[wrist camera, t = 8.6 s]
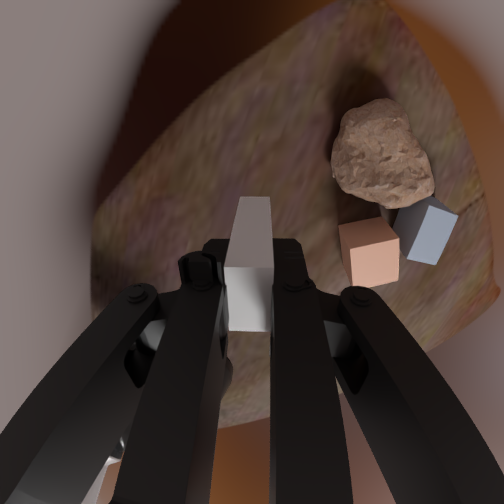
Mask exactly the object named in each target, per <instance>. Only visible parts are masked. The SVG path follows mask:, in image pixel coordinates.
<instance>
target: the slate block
mask: <svg viewBox="0 0 504 504" xmlns="http://www.w3.org/2000/svg"><path fill="white" fill-rule="evenodd" d="M457 218H458V215H456V214H455V213H454V212H453V211H451V210H450V209H449V208H448V207H446V206H445V205H444V204H443V203H441V202H440V201H439V200H437V199H436V198H435V197H432V196H429V197H426V198H424V199H422V200H419V201H417V202H416V203H413V204H412V205H410V206H408V207H402V208H400V209H399V212H398V215H397V217H396V220H395V222H394V225H393V227H392V230H393V231H394V232H395V233H396V235H397V236H398V237H399V249H400V250H401V252H402V253H403V255H404V256H405V257H406V259H410V260H414V261H419V262H424V263H428V264H433V265H436V263H437V261H438V259H439V257H440V255H441V253H442V251H443V249H444V247H445V245H446V243H447V241H448V238H449V236H450V234H451V232H452V229H453V227H454V225H455V222H456V220H457Z"/></svg>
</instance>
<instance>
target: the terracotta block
mask: <svg viewBox="0 0 504 504" xmlns="http://www.w3.org/2000/svg"><path fill="white" fill-rule="evenodd" d="M338 227H339V235H340V243H341V251H342V260H343V265H344V268H345V271H346V273H347V276H348V279H349V281H350V284H351V286H363V287H367V288H369V287H373V286H377V285H382V284H386V283H390V282H394V281H398V272H399V237H398V236H397V235H396V233H395V232H394V231H393V230H392V228H391V227H390V226H389V225H388V223H387V222H386V221H385V220H384V219H383V217H382V216H381V217H376V218H371V219H366V220H361V221H356V222H351V223H347V224H342V225H338Z"/></svg>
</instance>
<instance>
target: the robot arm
mask: <svg viewBox="0 0 504 504" xmlns="http://www.w3.org/2000/svg"><path fill="white" fill-rule="evenodd" d="M178 266H179V271H180V277H181V283H182V284H181V287H180V289H178V290H176V291H172V292H167V293H161V294H157V290H156V289H155V287H154V286H152V285H150V284H143V283H140V284H134V285H132V286H129V287H127V288H126V289H124V290H123V291H122V292H121V293H120V294H119V295H118V296H117V297H116V298H115V299H114V300H113V301H112V302H111V303H110V304H109V305H108V306H107V307H106V308H105V309H104V310H103V311H102V312H101V313H100V314H99V315H98V317H97V318H96V319H95V320H94V321H93V322H92V323H91V324H90V325H89V326H88V327H87V329H86V330H85V331H84V332H83V333H82V334H81V335H80V336H79V337H78V338H77V339H76V341H75V342H74V343H73V344H72V345H71V346H70V347H69V348H68V350H67V351H66V352H65V353H64V354H63V355H62V356H61V358H60V359H59V360H58V361H57V362H56V363H55V365H54V366H53V367H52V368H51V369H50V371H49V372H48V373H47V374H46V375H45V377H44V378H43V379H42V380H41V381H40V383H39V384H38V385H37V386H36V388H35V389H34V390H33V391H32V393H31V394H30V395H29V396H28V398H27V399H26V400H25V402H24V403H23V404H22V405H21V407H20V408H19V409H18V411H17V412H16V414H15V415H14V416H13V417H12V419H11V420H10V422H9V423H8V424H7V426H6V427H5V429H4V430H3V431H2V433H1V434H0V504H96V501H97V498H98V495H99V491H100V488H101V485H102V482H103V479H104V476H105V472H106V469H107V466H108V465H110V464H112V463H115V462H118V461H120V460H121V457H122V454H123V452H124V455H123V458H122V462H121V466H120V470H119V474H118V478H117V482H116V486H115V490H114V494H113V497H112V500H111V501H110V503H109V504H209V498H210V489H211V480H212V471H213V461H214V453H215V444H216V435H217V428H218V419H219V411H220V403H221V400H222V398H223V396H224V394H225V393H226V391H227V389H228V387H229V385H230V384H231V381H232V375H233V367H232V364H231V362H230V361H229V359H228V358H227V357H226V355H227V347H228V335H227V330H228V323H229V331H270V332H271V337H270V354H269V356H270V485H269V486H270V487H269V504H353V495H352V486H351V476H350V468H349V460H348V452H347V446H346V438H345V431H344V425H343V418H342V413H341V406H340V400H339V395H338V389H337V384H336V378H337V380H338V382H339V384H340V386H341V388H342V391H343V393H344V395H345V397H346V398H347V401H348V403H349V405H350V407H351V409H352V411H353V413H354V415H355V417H356V419H357V421H358V423H359V425H360V427H361V429H362V431H363V434H364V436H365V438H366V440H367V442H368V444H369V446H370V448H371V450H372V452H373V455H374V457H375V459H376V461H377V463H378V465H379V467H380V469H381V472H382V474H383V476H384V478H385V480H386V482H387V484H388V487H389V489H390V491H391V493H392V495H393V498H394V500H395V502H396V504H504V475H503V473H502V471H501V469H500V467H499V465H498V463H497V461H496V460H495V458H494V456H493V454H492V452H491V451H490V449H489V447H488V446H487V444H486V442H485V441H484V439H483V437H482V436H481V434H480V432H479V431H478V429H477V427H476V426H475V424H474V423H473V421H472V419H471V418H470V416H469V415H468V413H467V412H466V410H465V409H464V407H463V406H462V404H461V403H460V401H459V400H458V398H457V397H456V395H455V394H454V392H453V391H452V389H451V388H450V386H449V385H448V384H447V382H446V381H445V380H444V378H443V377H442V375H441V374H440V372H439V371H438V370H437V368H436V367H435V366H434V364H433V363H432V361H431V360H430V359H429V358H428V356H427V355H426V353H425V352H424V351H423V350H422V348H421V347H420V346H419V344H418V343H417V342H416V340H415V339H414V338H413V337H412V335H411V334H410V333H409V331H408V330H407V329H406V328H405V326H404V325H403V324H402V323H401V321H400V320H399V319H398V318H397V317H396V315H395V314H394V313H393V312H392V310H391V309H390V308H389V307H388V306H387V304H386V303H385V302H384V301H383V300H382V298H381V297H380V296H379V295H378V294H377V293H376V292H375V291H373V290H371V289H369V288H367V287H363V286H350V287H347V288H345V289H344V290H343V291H342V292H341V295H340V296H338V295H333V294H329V293H325V292H322V291H320V290H318V289H317V288H316V285H315V284H314V282H313V280H311V279H310V278H309V276H308V272H307V268H306V263H305V259H304V255H303V251H302V247H301V244H300V243H299V242H298V241H297V240H296V239H279V238H272V225H271V209H270V197H240V200H239V204H238V208H237V212H236V217H235V221H234V225H233V229H232V234H231V238H230V239H210V240H209V241H208V242H207V243H206V244H204V246H203V249H202V251H195V252H191V253H188V254H186V255H184V256H182V257H181V258H180V259H179V260H178ZM335 376H336V378H335Z"/></svg>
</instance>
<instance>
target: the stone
mask: <svg viewBox="0 0 504 504" xmlns="http://www.w3.org/2000/svg"><path fill="white" fill-rule="evenodd" d="M340 127H341V128H340V131H339V134H338V136H337V138H336V139H335V141H334V144H333V149H332V155H331V162H330V163H331V166H332V172H333V177H335V178H336V180H337V183H338V184H339V186H340V187H341V189H342V190H343V191H344V192H345V193H348V194H353V195H355V196H356V197H358V198H363V199H364V200H366V201H370V202H377V203H379V204H380V205H382V206H384V207H385V208H386V209H393V208H402V207H408V206H410V205H412V204H413V203H416V202H417V201H419V200H422V199H424V198H426V197H429V196H431V195H432V194H433V193H434V188H435V182H434V179H433V175H432V172H431V168H430V162H429V160H428V157H427V155H426V153H425V151H424V150H423V149H422V147H421V146H420V144H419V141H418V140H417V138H416V137H415V136H414V135H413V134H412V130H411V128H410V125H409V121H408V117H407V115H406V113H405V111H404V110H403V108H402V107H401V105H400V104H399V103H397V102H395V101H393V100H390V99H388V98H384V99H375V100H373V101H371V102H369V103H367V104H365V105H363V106H361V107H359V108H352V109H350V110H348V111H347V112H346V113H345V114H344V116H343V117H342V120H341V123H340Z"/></svg>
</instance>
